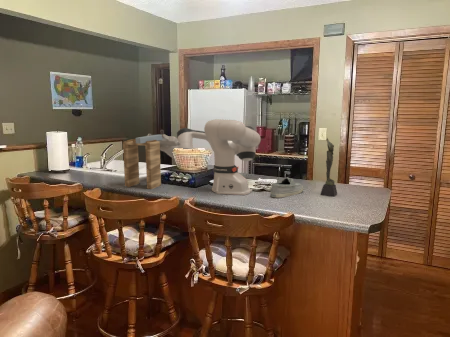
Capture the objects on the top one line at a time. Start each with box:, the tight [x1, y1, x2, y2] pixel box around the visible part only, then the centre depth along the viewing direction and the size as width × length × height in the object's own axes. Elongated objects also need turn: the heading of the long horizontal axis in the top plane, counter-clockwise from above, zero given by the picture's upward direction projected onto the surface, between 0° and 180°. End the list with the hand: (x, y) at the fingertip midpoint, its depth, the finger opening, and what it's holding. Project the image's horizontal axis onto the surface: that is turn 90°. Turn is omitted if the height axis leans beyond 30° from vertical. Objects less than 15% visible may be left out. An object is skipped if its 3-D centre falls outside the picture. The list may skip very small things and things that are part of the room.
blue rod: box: [135, 134, 163, 144], centre depth 207 cm, size 3×23×3 cm, turn 158°
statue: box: [320, 137, 338, 198], centre depth 189 cm, size 7×8×30 cm
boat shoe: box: [270, 176, 304, 199], centre depth 192 cm, size 9×25×9 cm, turn 140°
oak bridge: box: [122, 138, 162, 190], centre depth 208 cm, size 18×10×27 cm, turn 69°
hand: (156, 134), depth 212 cm, fingers open, 8 cm apart
